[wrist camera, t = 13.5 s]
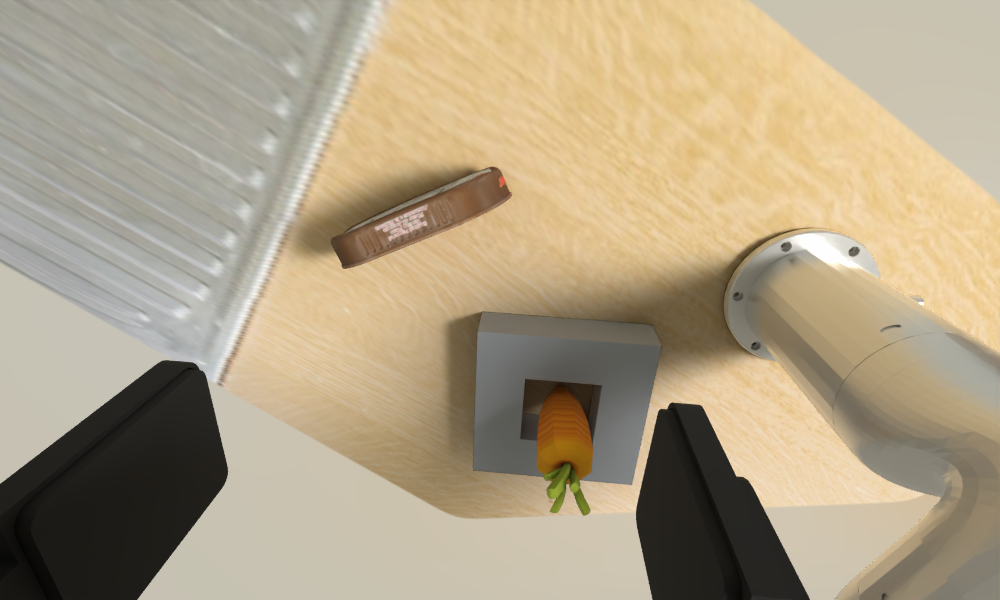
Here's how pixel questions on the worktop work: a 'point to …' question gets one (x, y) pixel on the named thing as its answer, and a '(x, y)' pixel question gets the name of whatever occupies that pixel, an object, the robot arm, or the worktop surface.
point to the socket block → (563, 358)
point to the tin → (422, 217)
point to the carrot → (564, 447)
